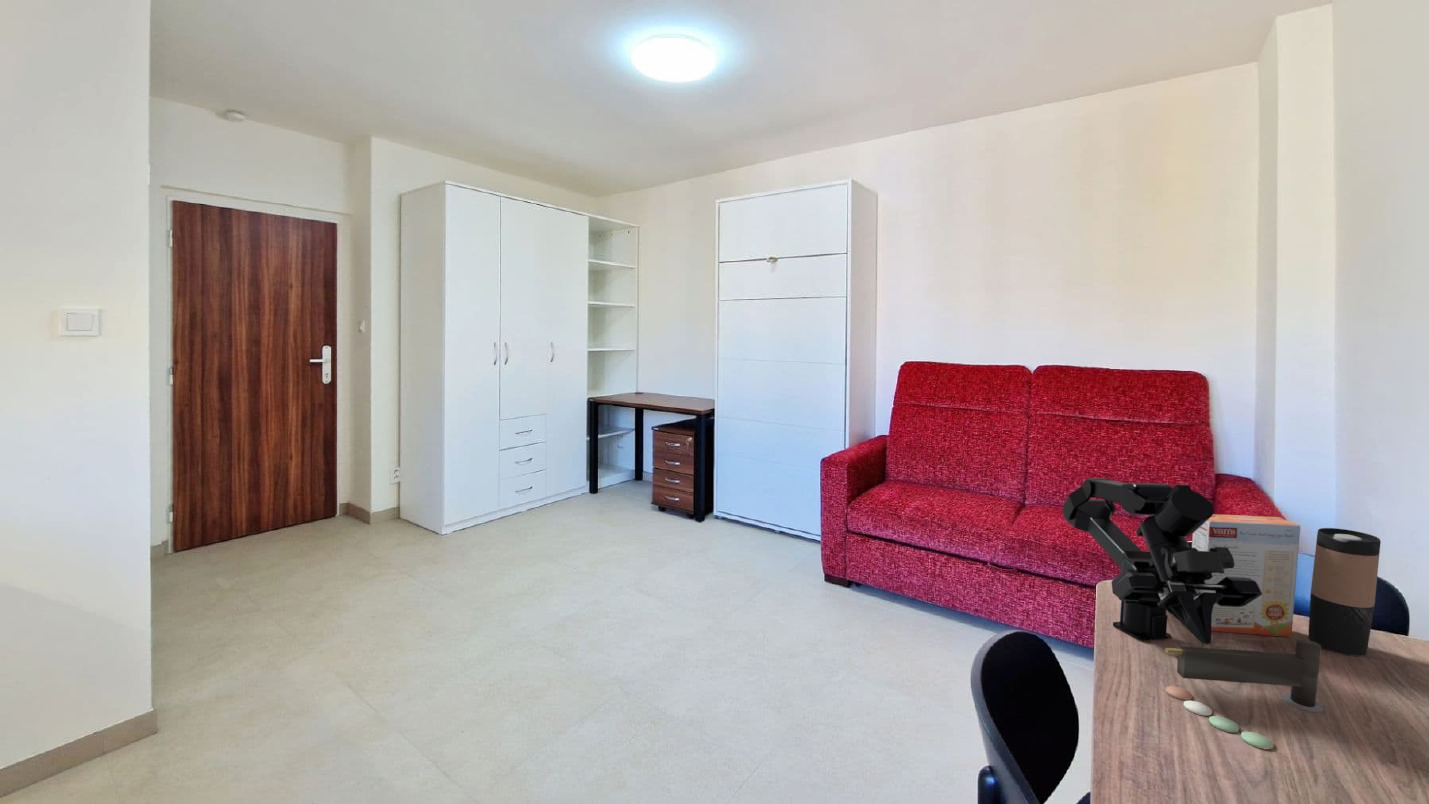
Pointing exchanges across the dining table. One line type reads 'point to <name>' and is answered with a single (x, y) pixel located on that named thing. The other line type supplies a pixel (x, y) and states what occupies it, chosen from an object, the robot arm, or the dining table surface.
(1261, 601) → the cracker box
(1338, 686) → the dining table surface
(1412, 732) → the dining table surface
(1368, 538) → the travel mug
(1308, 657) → the hammer
